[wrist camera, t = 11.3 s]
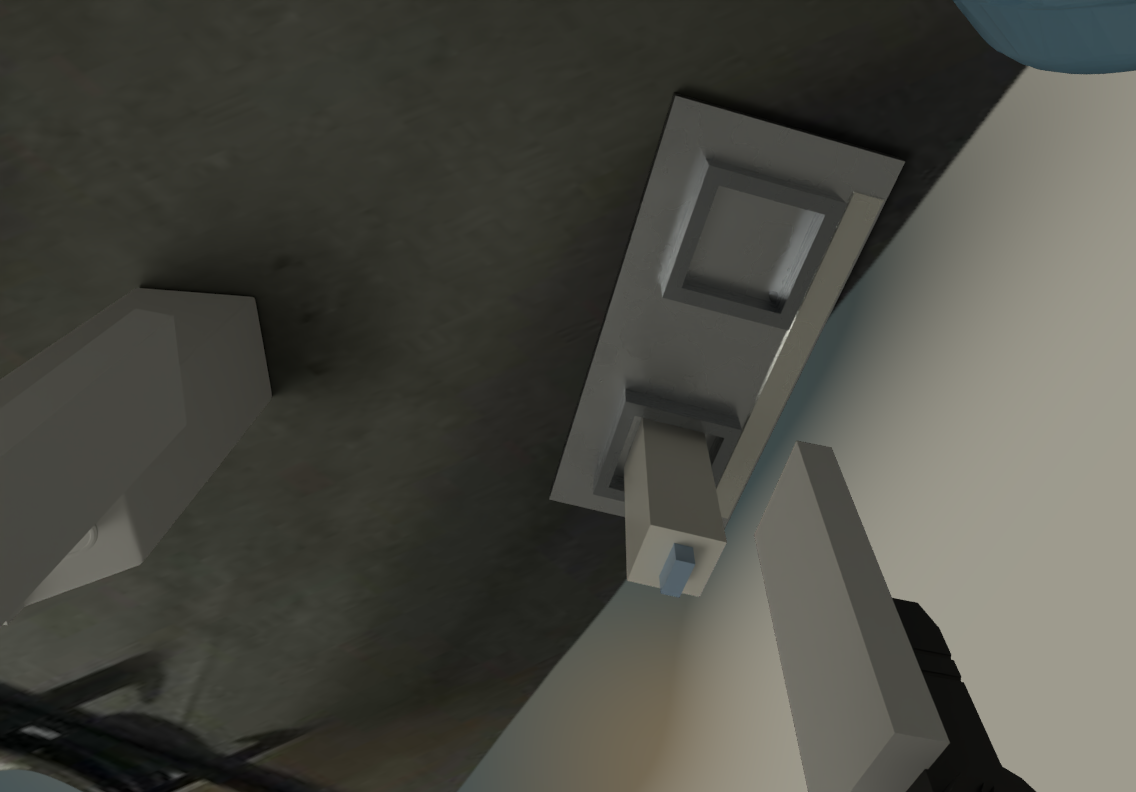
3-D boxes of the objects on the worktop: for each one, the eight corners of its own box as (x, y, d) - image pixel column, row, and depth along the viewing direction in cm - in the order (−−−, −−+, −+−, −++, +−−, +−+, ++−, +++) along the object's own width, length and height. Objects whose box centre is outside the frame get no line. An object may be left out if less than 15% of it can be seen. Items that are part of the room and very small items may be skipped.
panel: (674, 92, 36) (678, 100, 33) (898, 157, 37) (916, 168, 34) (550, 490, 49) (547, 513, 47) (717, 529, 50) (722, 554, 48)
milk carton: (164, 388, 46) (-79, 618, 30) (137, 285, 42) (-157, 483, 26) (274, 397, 46) (90, 632, 30) (256, 294, 42) (35, 499, 26)
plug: (642, 416, 44) (651, 541, 35) (704, 431, 45) (730, 559, 35) (623, 467, 46) (627, 597, 37) (682, 481, 47) (702, 614, 37)
